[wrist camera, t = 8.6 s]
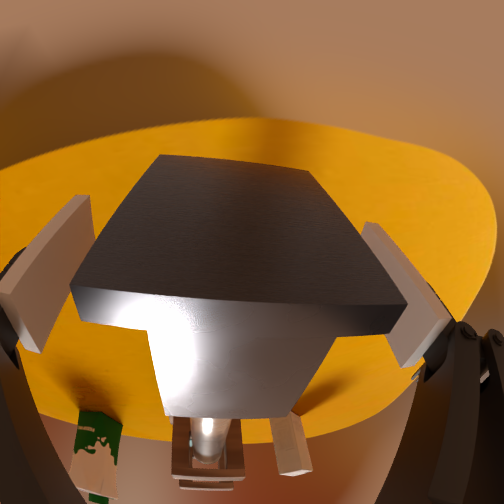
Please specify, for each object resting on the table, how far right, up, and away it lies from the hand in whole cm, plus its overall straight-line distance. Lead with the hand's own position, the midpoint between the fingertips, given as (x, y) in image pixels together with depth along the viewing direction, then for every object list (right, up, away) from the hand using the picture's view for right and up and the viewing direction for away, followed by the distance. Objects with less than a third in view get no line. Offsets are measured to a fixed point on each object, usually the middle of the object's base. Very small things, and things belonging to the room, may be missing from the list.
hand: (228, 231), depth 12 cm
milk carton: (-31, -35, +32) cm, 56 cm away
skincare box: (+7, -31, +33) cm, 46 cm away
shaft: (-2, -9, +8) cm, 12 cm away
